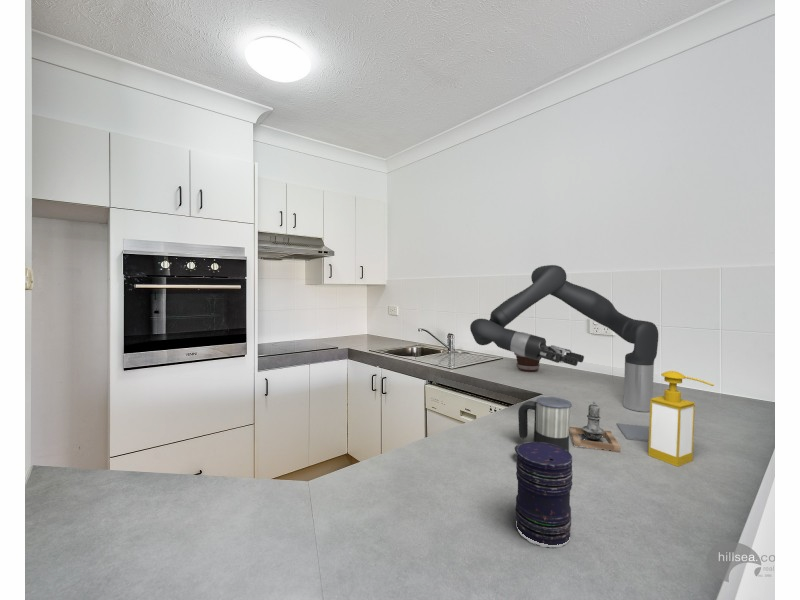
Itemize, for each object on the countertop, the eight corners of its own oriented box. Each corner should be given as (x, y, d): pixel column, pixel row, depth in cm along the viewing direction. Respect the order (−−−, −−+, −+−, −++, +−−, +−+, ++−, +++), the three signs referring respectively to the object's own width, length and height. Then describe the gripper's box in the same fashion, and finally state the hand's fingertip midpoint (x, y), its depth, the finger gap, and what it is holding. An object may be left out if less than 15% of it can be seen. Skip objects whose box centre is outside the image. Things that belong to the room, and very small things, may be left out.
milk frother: (568, 449, 106) (570, 397, 105) (574, 476, 91) (576, 416, 91) (516, 442, 111) (517, 392, 110) (513, 467, 96) (514, 409, 95)
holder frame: (569, 431, 119) (569, 426, 119) (610, 436, 116) (610, 431, 116) (574, 446, 108) (574, 441, 108) (620, 452, 105) (620, 446, 104)
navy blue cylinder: (507, 515, 76) (508, 442, 75) (554, 513, 76) (556, 441, 76) (528, 550, 66) (530, 466, 65) (582, 547, 67) (584, 464, 66)
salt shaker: (607, 446, 108) (608, 405, 108) (585, 444, 110) (586, 403, 109) (600, 438, 114) (601, 399, 114) (579, 436, 115) (580, 397, 115)
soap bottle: (702, 476, 92) (706, 380, 91) (648, 455, 103) (651, 369, 102) (717, 469, 95) (721, 377, 94) (663, 450, 106) (666, 367, 105)
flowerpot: (509, 367, 212) (509, 331, 211) (535, 366, 213) (535, 331, 212) (520, 373, 197) (520, 335, 196) (547, 372, 199) (548, 335, 198)
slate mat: (616, 424, 125) (616, 423, 125) (658, 429, 122) (658, 427, 121) (626, 439, 114) (626, 437, 114) (672, 444, 110) (673, 442, 110)
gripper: (523, 335, 117) (578, 351, 108) (536, 333, 128) (588, 346, 119) (518, 358, 118) (572, 376, 108) (532, 354, 129) (582, 369, 120)
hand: (580, 360), depth 114 cm, fingers open, 8 cm apart
